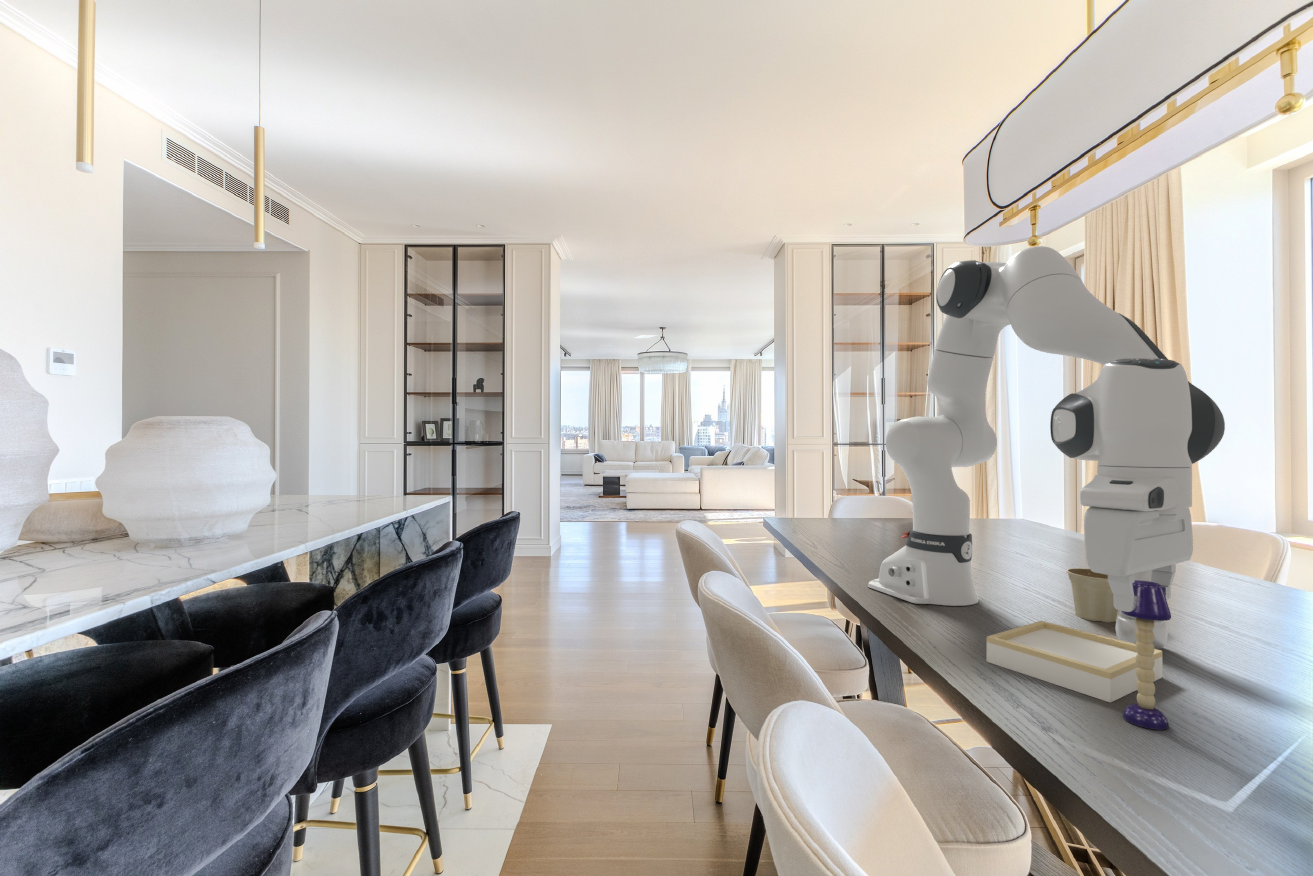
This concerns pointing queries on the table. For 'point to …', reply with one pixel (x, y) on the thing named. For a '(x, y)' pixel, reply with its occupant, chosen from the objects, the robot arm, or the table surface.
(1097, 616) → the flower pot
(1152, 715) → the toy lamp
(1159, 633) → the plastic bottle
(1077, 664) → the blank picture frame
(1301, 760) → the table surface
